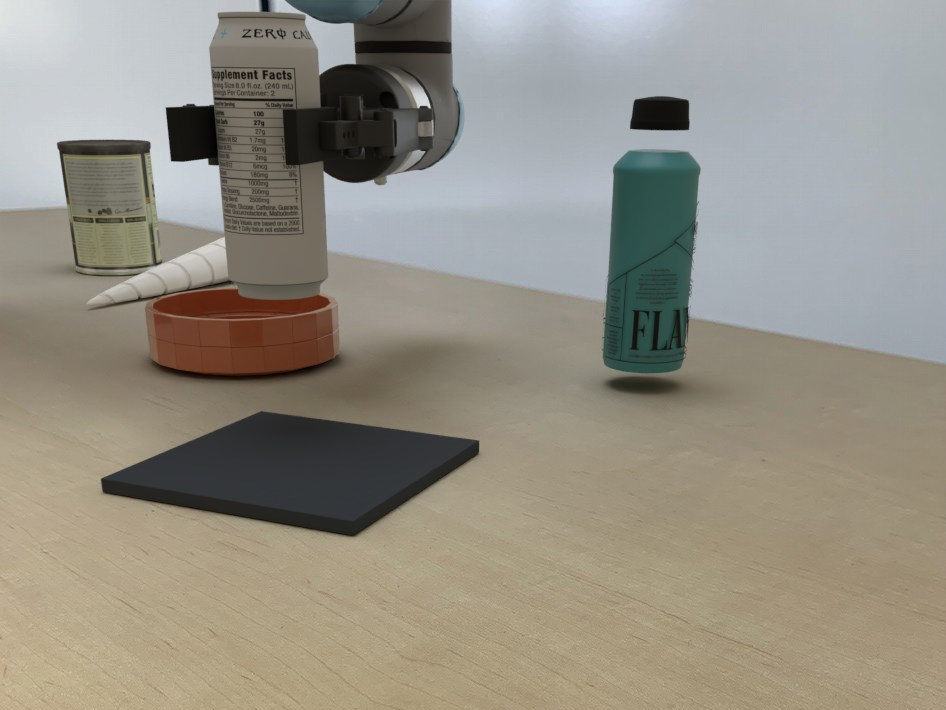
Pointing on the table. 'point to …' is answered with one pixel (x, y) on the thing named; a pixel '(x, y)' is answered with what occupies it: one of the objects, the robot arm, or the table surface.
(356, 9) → the robot arm
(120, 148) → the coffee can
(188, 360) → the bowl
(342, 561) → the table surface
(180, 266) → the unicorn horn
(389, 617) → the table surface
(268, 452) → the mat
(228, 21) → the energy drink can
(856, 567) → the table surface
